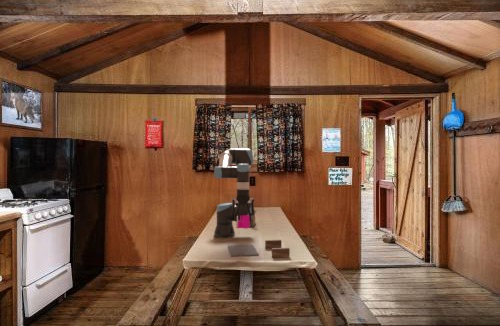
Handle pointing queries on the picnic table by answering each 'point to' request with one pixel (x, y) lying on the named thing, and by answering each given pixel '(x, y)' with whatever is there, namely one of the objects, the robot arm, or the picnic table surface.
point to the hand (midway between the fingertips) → (242, 226)
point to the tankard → (253, 219)
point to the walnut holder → (277, 249)
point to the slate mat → (242, 250)
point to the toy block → (244, 222)
